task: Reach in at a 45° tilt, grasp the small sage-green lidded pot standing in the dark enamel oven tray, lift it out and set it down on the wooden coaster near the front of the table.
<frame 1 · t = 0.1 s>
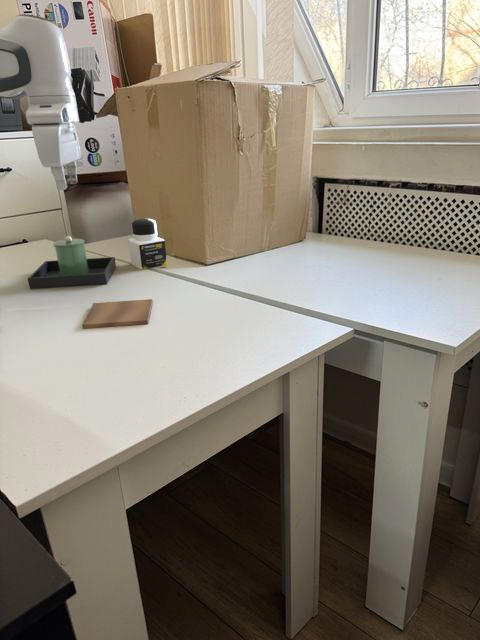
hand: (68, 186, 106), 23 cm above the table, tool pointing down, fingers open, 8 cm apart
oven tray: (76, 279, 123), on the table
wooden coaster: (119, 314, 100), on the table
green pot: (75, 277, 123), point 1 cm above the table, touching oven tray
medicine bottle: (149, 267, 132), on the table
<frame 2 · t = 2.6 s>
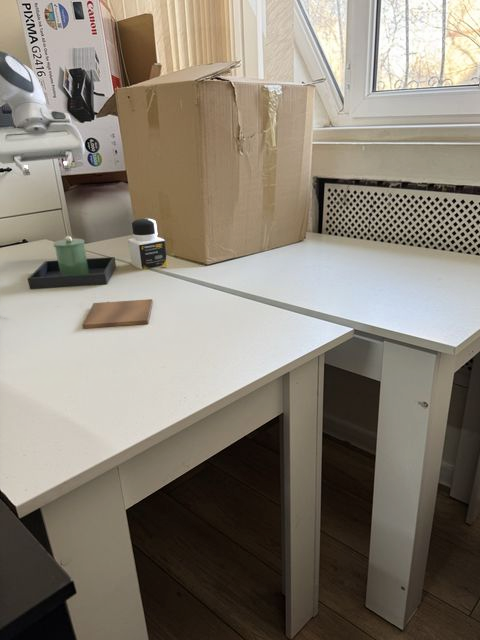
hand: (47, 171, 122), 24 cm above the table, tool tilted 45°, fingers open, 8 cm apart
nothing on the table moved.
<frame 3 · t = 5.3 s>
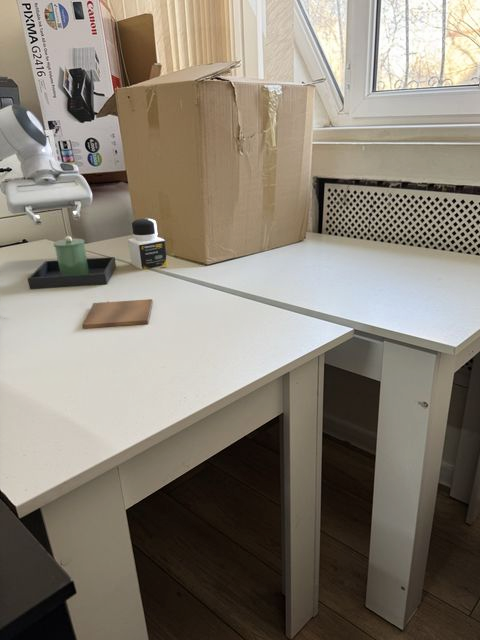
hand: (58, 221, 125), 13 cm above the table, tool tilted 45°, fingers open, 8 cm apart
nothing on the table moved.
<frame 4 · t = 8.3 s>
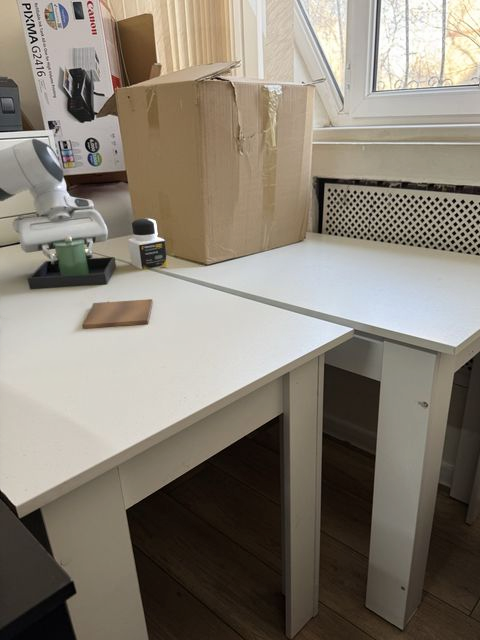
hand: (72, 259, 121), 5 cm above the table, tool tilted 45°, fingers closed on green pot, 6 cm apart
green pot: (75, 277, 123), point 1 cm above the table, touching gripper, oven tray
everything else where it was.
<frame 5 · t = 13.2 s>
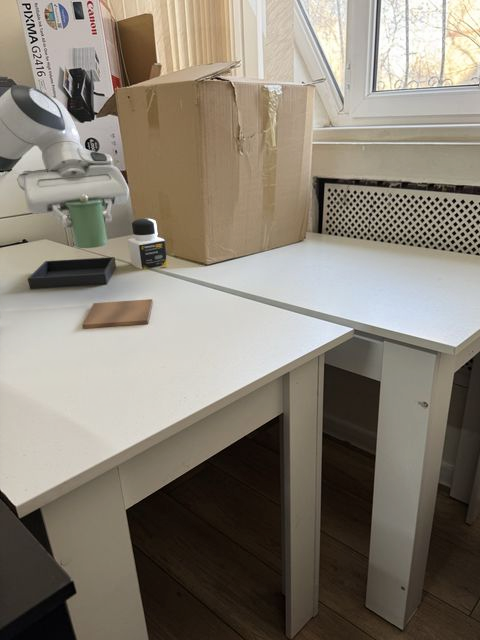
hand: (88, 223, 102), 16 cm above the table, tool tilted 45°, fingers closed on green pot, 6 cm apart
green pot: (91, 244, 104), point 12 cm above the table, touching gripper
everything else where it was.
when the fingers open (5 cm above the table, at t = 18.4 s): green pot stays where it is, resting on wooden coaster.
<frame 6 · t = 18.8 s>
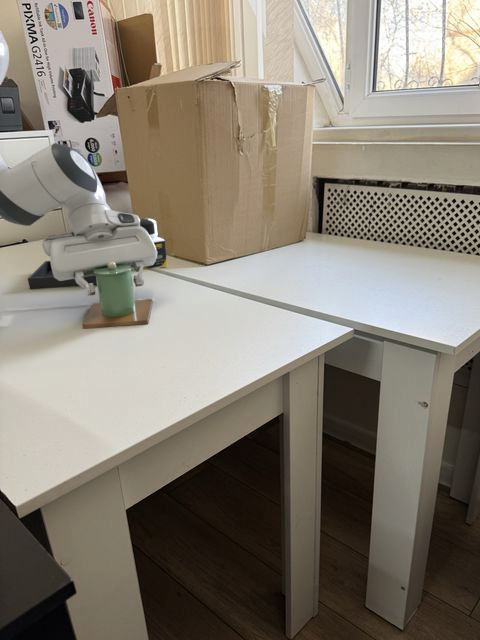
hand: (116, 289, 98), 5 cm above the table, tool tilted 45°, fingers open, 8 cm apart
green pot: (119, 311, 100), point 1 cm above the table, touching wooden coaster
everything else where it was.
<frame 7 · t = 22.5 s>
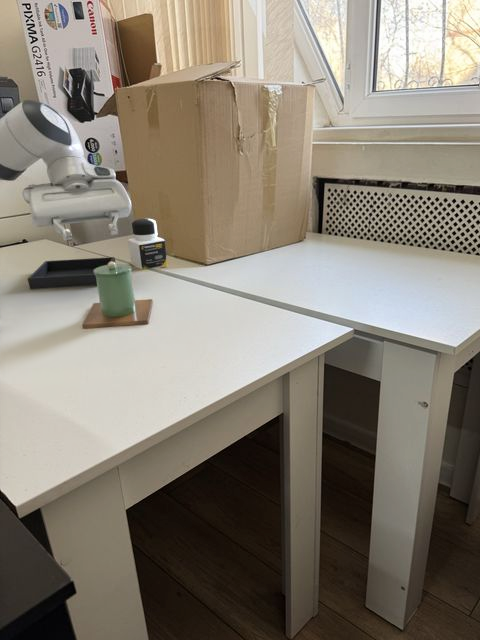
hand: (91, 236, 104), 13 cm above the table, tool tilted 45°, fingers open, 8 cm apart
nothing on the table moved.
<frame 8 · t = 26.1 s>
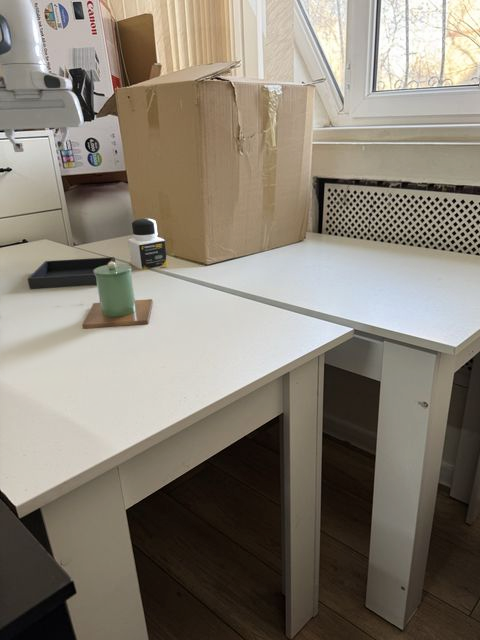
hand: (41, 151, 113), 29 cm above the table, tool pointing down, fingers open, 8 cm apart
nothing on the table moved.
at the end: green pot inside the target area on the wooden coaster (0.0 cm from its centre), point 0.8 cm above the wooden coaster's base; green pot tilted 0°; green pot touching wooden coaster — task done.
